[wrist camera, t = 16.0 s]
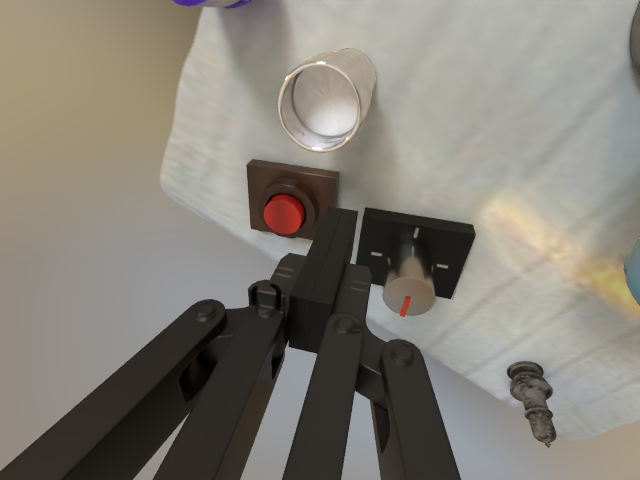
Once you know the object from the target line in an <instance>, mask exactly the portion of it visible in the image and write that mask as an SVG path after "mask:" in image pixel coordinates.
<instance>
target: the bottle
mask: <svg viewBox="0 0 640 480" xmlns="http://www.w3.org/2000/svg"><path fill="white" fill-rule="evenodd" d="M173 1H174V2H175V3H177V4H180V5H183V6H205V7H221V8H235V7H238V6H241V5H244V4H246V3H248V2H249V1H251V0H173Z"/></svg>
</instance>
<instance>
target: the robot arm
mask: <svg viewBox="0 0 640 480" xmlns="http://www.w3.org/2000/svg"><path fill="white" fill-rule="evenodd" d="M631 54H632V59H633V62H634V65H635V68H636V69H637V71H638V73H639V75H640V2H639V5H638V8H637V10H636V13H635V17H634V21H633V24H632V31H631ZM357 216H358V211H354V210H348V209H342V208H336V207H329V206H328V208H327V210H326V213H325V215H324V217H323V220H322V222H321V224H320V226H319V229H318V231H317V233H316V236H315V238H314V240H313V242H312V245H311V247H310V249H309V252H308V254H307V256H303V255H298V254H292V253H289V254H287V255H286V256H284V257H283V258H282V259H281V260H280V262H279V264H278V266H277V268H276V269H275V271H274V274H273V275H272V277H271V279H270V280H262V281H258V282H256V283H254V284H252V285H251V286H250V287H249V288H248V296H249V306H248V307H245V308H239V309H225V307H224V305H223V304H222V303H221V302H219V301H217V300H213V299H208V300H202V301H199V302H197V303H195V304H194V305H192V306H191V307H190V308H189V309H187V310H186V311H185V312H184V313H183V314H182V315H180V316H179V317H178V318H177V319H176V320H175V321H174V322H172V323H171V324H170V325H169V326H168V327H167V328H166V329H164V330H163V331H162V332H161V333H160V334H158V335H157V336H156V337H155V338H154V339H153V340H152V341H150V342H149V343H148V344H147V345H146V346H145V347H144V348H142V349H141V350H140V351H139V352H138V353H136V355H134V356H133V357H132V358H131V359H130V360H128V361H127V362H126V363H125V364H124V365H123V366H121V367H120V368H119V369H118V370H117V371H116V372H115V373H113V374H112V375H111V376H110V377H109V378H108V379H106V380H105V381H104V382H103V383H102V384H101V385H99V386H98V387H97V388H96V389H95V390H94V391H93V392H91V393H90V394H89V395H88V396H87V397H86V398H84V399H83V400H82V401H81V402H80V403H79V404H78V405H76V406H75V407H74V408H73V409H72V410H71V411H70V412H68V413H67V414H66V415H65V416H64V417H63V418H61V419H60V420H59V421H58V422H57V423H56V424H54V425H53V426H52V427H51V428H50V429H49V430H47V431H46V432H45V433H44V434H43V435H42V436H41V437H39V438H38V439H37V440H36V441H35V442H34V443H32V444H31V445H30V446H29V447H28V448H27V449H26V450H24V451H23V452H22V453H21V454H20V455H19V456H17V457H16V458H15V459H14V460H13V461H12V462H11V463H9V464H8V465H7V466H6V467H5V468H4V469H2V470H1V471H0V480H133V479H134V478H135V476H136V475H137V474H138V473H139V472H140V470H141V469H142V468H143V467H144V466H145V464H146V463H147V462H148V461H149V460H150V459H151V457H152V456H153V455H154V454H155V453H156V452H157V450H158V449H159V448H160V447H161V446H162V444H163V443H164V442H165V441H166V440H167V438H168V437H169V436H170V435H171V434H172V433H173V431H174V430H175V429H176V428H177V427H178V425H179V424H180V423H181V422H182V421H183V420H184V418H185V417H186V416H187V415H188V414H189V415H188V417H187V419H186V420H185V422H184V424H183V426H182V428H181V429H180V431H179V433H178V435H177V437H176V438H175V440H174V442H173V444H172V446H171V448H170V449H169V451H168V453H167V455H166V456H165V458H164V460H163V462H162V464H161V465H160V467H159V469H158V471H157V473H156V474H155V476H154V478H153V480H240V478H241V476H242V473H243V470H244V468H245V465H246V462H247V459H248V457H249V454H250V451H251V448H252V446H253V443H254V440H255V438H256V435H257V432H258V430H259V427H260V424H261V421H262V418H263V416H264V413H265V410H266V408H267V405H268V402H269V400H270V397H271V394H272V392H273V389H274V386H275V383H276V380H277V378H278V375H279V372H280V370H281V367H282V364H283V361H284V357H285V348H286V345H287V343H288V340H289V347H291V348H296V349H300V350H304V351H308V352H313V353H317V358H316V361H315V365H314V368H313V372H312V375H311V379H310V383H309V386H308V390H307V393H306V397H305V400H304V404H303V407H302V411H301V414H300V418H299V421H298V425H297V428H296V432H295V436H294V440H293V443H292V446H291V450H290V453H289V457H288V460H287V464H286V467H285V471H284V474H283V478H282V480H341V476H342V469H343V463H344V456H345V450H346V444H347V437H348V431H349V425H350V418H351V412H352V405H353V399H354V393H355V391H356V392H358V393H360V394H361V395H363V396H364V397H366V398H368V399H370V404H371V411H372V419H373V425H374V433H375V440H376V447H377V454H378V461H379V468H380V476H381V480H461V478H460V475H459V472H458V468H457V465H456V462H455V458H454V455H453V452H452V449H451V446H450V442H449V439H448V436H447V433H446V430H445V426H444V423H443V420H442V416H441V414H440V410H439V407H438V404H437V400H436V397H435V394H434V391H433V388H432V384H431V381H430V378H429V375H428V371H427V368H426V365H425V362H424V358H423V356H422V354H421V352H420V350H419V349H418V348H417V347H416V346H415V345H414V344H412V343H410V342H408V341H406V340H401V339H395V340H390V341H389V342H385V341H383V340H381V339H379V338H378V337H376V336H375V335H373V334H372V333H371V332H370V330H369V329H368V327H367V325H366V313H367V306H368V300H369V293H370V287H371V280H372V274H371V272H370V269H369V267H366V266H360V265H355V264H350V261H351V257H352V250H353V243H354V237H355V230H356V223H357ZM624 272H625V275H626V283H627V286H628V288H629V290H630V292H631V294H632V295H633V297H634V299H635V300H636V302H637V303H638V304H639V306H640V238H639V239H638V240H637V242H636V243H635V245H634V246H633V248H632V249H631V250H630V252H629V253H628V255H627V257H626V259H625V263H624Z"/></svg>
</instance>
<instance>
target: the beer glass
mask: <svg viewBox="0 0 640 480" xmlns="http://www.w3.org/2000/svg"><path fill="white" fill-rule="evenodd" d="M375 85H376V71H375V68H374V65H373V63H372V61H371V60H370V58H369V57H368V56H367V55H366V54H365V53H363V52H362V51H360V50H357V49H353V48H346V49H342V50H339V51H337V52H325V53H321V54H318V55H315V56H313V57H311V58H309V59H308V60H306V61H304V62H303V63H302V64H301V65H299V66H298V67H297V68H295V69H294V70H293V71H292V72H291V73H290V74H289V75H288V76H287V77H286V78H285V80H284V82H283V83H282V85H281V88H280V91H279V94H278V101H277V108H278V115H279V119H280V122H281V125H282V127H283V129H284V130H285V132H286V133H287V135H288V136H289V137H290V138H291V139H292V140H293V141H294V142H295V143H296V144H297V145H299V146H300V147H302V148H304V149H306V150H309V151H313V152H319V153H324V152H331V151H334V150H337V149H339V148H341V147H343V146H344V145H345V144H347V143H348V142H349V141H350V140H351V139H352V138H353V136H354V135H355V133H356V132H357V131H358V130H359V128H360V127H361V125H362V124H363V122H364V120H365V118H366V116H367V114H368V111H369V108H370V104H371V96H372V93H373V91H374V88H375Z"/></svg>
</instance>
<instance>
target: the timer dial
mask: <svg viewBox="0 0 640 480" xmlns="http://www.w3.org/2000/svg"><path fill="white" fill-rule="evenodd" d="M383 300H384V302H385V304H386V305H387V306H388V307H389V308H390V309H391V310H392V311H394V312H396V313H399V314H400V316H403V317H405V315H408V316H414V315H420V314H423V313H425V312H427V311H428V310H429V309H430V308H431V307H432V306H433V304H434V302H435V286H434V273H433V261H432V255H431V253H430V251H429V250H428V249H427V248H426V247H425V246H423V245H421V244H419V243H416V242H402V243H399V244H397V245H395V246H393V247H392V248H391V249H390V250H389V252H388V254H387V258H386V268H385V277H384V287H383Z"/></svg>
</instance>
